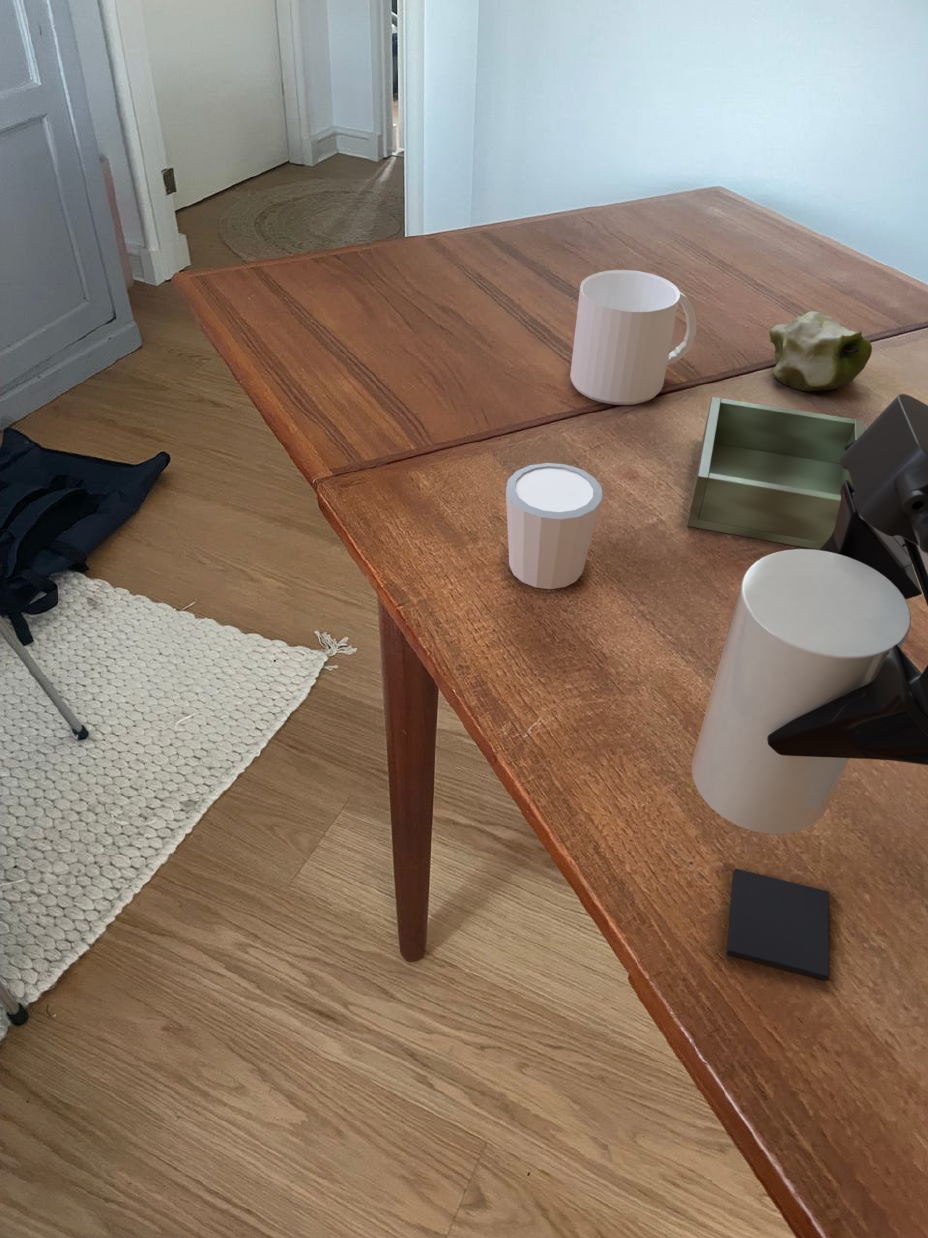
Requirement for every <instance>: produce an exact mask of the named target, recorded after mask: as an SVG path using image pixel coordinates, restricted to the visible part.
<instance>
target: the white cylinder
mask: <svg viewBox="0 0 928 1238" xmlns="http://www.w3.org/2000/svg"><path fill="white" fill-rule="evenodd" d="M911 626H912V614H911V609H910V607H909V603H908V602H907V599H906V600H905V598H904V596H903V595H902V593H901V592H900V591H899V589H898V588H897V587H896V586H895V585H894V584H893V583H892V582H891V581H890V580H889V579H887V578H886V577H885V576H884V575H882V574H881V573H879V572H878V571H876V570H875V569H873V568H871V567H870V566H868V565H866V564H864V563H862V562H859V561H857V560H855V559H852V558H849V557H847V556H843V555H840V554H837V553H832V552H828V551H821V550H816V549H811V548H795V549H793V548H792V549H785V550H780V551H776V552H773V553H770V554H767V555H764V556H763V557H761V558H760V559H757V560H756V561H755V562H754V563H752V565H750V567H749V568H748V569H747V570H746V571H745V573H744V575H743V576H742V579H741V584H740V587H739V591H738V594H737V598H736V601H735V605H734V609H733V612H732V616H731V619H730V623H729V626H728V630H727V633H726V638H725V640H724V644H723V647H722V652H721V655H720V659H719V662H718V666H717V670H716V673H715V677H714V680H713V683H712V686H711V691H710V694H709V697H708V702H707V705H706V709H705V711H704V716H703V719H702V723H701V727H700V730H699V734H698V738H697V741H696V745H695V748H694V752H693V754H692V759H691V776H692V778H693V783H694V785H695V787H696V789H697V790H696V791H698V793H699V795H700V796H701V798H702V799H703V801H704V802H705V803H706V804H707V805H708V806H709V808H710V809H712V810H713V812H715V813H716V814H717V815H719V816H720V817H722V818H723V819H724V820H726V821H728V823H731V824H733V825H735V826H737V827H739V828H741V829H744V830H747V831H751V832H754V833H759V834H764V835H771V836H773V835H776V836H777V835H790V834H795V833H798V832H801V831H803V830H806V829H808V828H810V827H812V826H813V825H815V824H816V823H817V822H818V821H819V820H821V819H822V817H824V815H825V813H826V811H827V809H828V808H829V806H830V803H831V801H832V799H833V797H834V794H835V793H836V791H837V788H838V787H839V785H840V781H842V778H843V776H844V773H845V771H846V768H847V767H848V765H849V763H850V760H851V758H831V757H807V756H783V755H779V754H778V753H776V752H775V751H774V750H773V749H772V748H771V747H770V746H769V745H768V741H767V737H768V735H769V734H771V733H772V732H774V731H776V730H777V729H779V728H780V727H782V726H784V725H785V724H787V723H789V722H790V721H792V720H794V719H796V718H798V717H800V716H802V715H804V714H806V713H808V712H810V711H812V710H814V709H816V708H819V707H821V706H823V705H825V704H827V703H829V702H831V701H833V700H835V699H837V698H839V697H841V696H844V695H846V694H848V693H850V692H852V691H854V690H856V689H858V688H860V687H862V686H864V685H866V684H869V683H870V682H872V681H873V680H874V679H875V678H876V676H877V675H878V673H879V671H880V669H881V667H882V665H883V663H884V661H885V660H886V658H887V656H888V654H889V652H890V650H891V648H892V647H893V646H894V645H898V647H899V648H900V649H901V650H902V648H903V646H904V644H905V641H906V639H907V637H908V635H909V633H910V630H911Z"/></svg>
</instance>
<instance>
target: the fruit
mask: <svg viewBox="0 0 928 1238" xmlns="http://www.w3.org/2000/svg"><path fill="white" fill-rule="evenodd" d="M862 335H863V331H861V330H859V331H854V330H850V329H848V328H847V327H845V326H842V325H841V324H840V322H838V321H836V320H835V318H834V316H831V315H825V314H823V313H821V312H819V311H813V310H811V311H808V312H807V313H805V314H803V315H798V316H796V317H795V318H794V319H792V320H791V321H790V322H789V323H787V324H784V323H778V324H776V325H774V326H771V327H770V329H769V341H770V343H772V344H773V346H774V359H775V363H776V365H775V366H774V368H773V370H772V371H771V375H772V376H773V377H774V378H775V379H777V380H778V381H779V382H781V383H782V384H783V385H785V386H787V387H790V388H792V389H795V390H798V391H803V392H821V391H822V392H823V391H831V390H835V389H839V388H842V387H844V386H845V385H847V384H849V383H850V382H852V381H853V380H854V379H855V378H856V377H857V376H859V375H860V373H861V372H862V371H863V370H864V369H865V368H866V365H867V364H868V361H869V360H870V358H871V356H872V353H873V345H872V342H871V341H870V340H868V339H866V338H864V337H863V336H862Z"/></svg>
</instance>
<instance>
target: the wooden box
mask: <svg viewBox="0 0 928 1238" xmlns="http://www.w3.org/2000/svg"><path fill="white" fill-rule="evenodd" d="M865 427H866V426H865V420H863V419H856V418H855V419H854V418H849V417H844V416H837V415H831V414H825V413H819V412H818V413H817V412H811V411H805V410H798V409H793V408H787V407H779V406H772V405H768V404H767V405H766V404H760V403H754V402H748V401H740V400H734V399H728V398H722V397H716V396H715V397H714V396H712V397H711V399H710V403H709V408H708V413H707V418H706V420H705V425H704V430H703V433H702V439H701V442H700V443H701V444H700V449H699V454H698V460H697V465H696V471H695V477H694V482H693V487H692V493H691V498H690V504H689V509H688V515H687V521H686V526H687V527H691V528H695V529H703V530H707V531H712V532H719V533H723V534H724V533H725V534H727V535H728V534H729V535H734V536H740V537H745V538H751V539H755V540H756V539H757V540H762V541H766V542H767V541H768V542H773V543H778V544H783V545H789V546H794V547H801V548H804V549H812V550H820V548H821V547H822V546H823V545H824V544H825V543H826V541H827V540H828V539H829V538H830V536H831V535H832V533H833V531H834V528H835V524H836V520H837V515H838V511H839V507H840V502H841V494H840V489H841V486H842V484H843V483H844V482H845V481H846V480H848V481H849V482H850V483H851V484H852V486H853V483H852V480H851V477H850V474H849V471H848V470H846V469H844V468H843V467H842V464H841V456H842V455H843V454H844V453H845V448H844V447H845V446H847V445H849V444H850V443H852V442H854V441H855V440H857V439H858V438H859V437H860V436H861V434H862V433H863V432H864V431H865V430H866V428H865ZM853 487H854V486H853Z"/></svg>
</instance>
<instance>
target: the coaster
mask: <svg viewBox="0 0 928 1238" xmlns="http://www.w3.org/2000/svg"><path fill="white" fill-rule="evenodd" d="M829 893H830V892H829V891H828V890H824V889H820V888H816V887H813V886H808V885H804V884H800V883H796V882H791V881H788V880H784V879H780V878H776V877H772V876H768V875H764V874H760V873H756V872H751V871H748V870H743V869H740V868H736V867H735V868H734V870H733V871H732V880H731V891H730V905H729V915H728V929H727V940H726V951H725V952H726V955H727V956H731V957H735V958H737V959H743V960H747V961H751V962H754V963H757V964H762V965H765V966H769V967H772V968H776V969H780V970H784V971H787V972H792V973H795V974H799V975H803V976H807V977H810V978H815V979H818V980H822V981H827V980H828V978H829V977H830V908H829V907H830V902H829V901H830V898H829V897H830V894H829Z"/></svg>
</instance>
